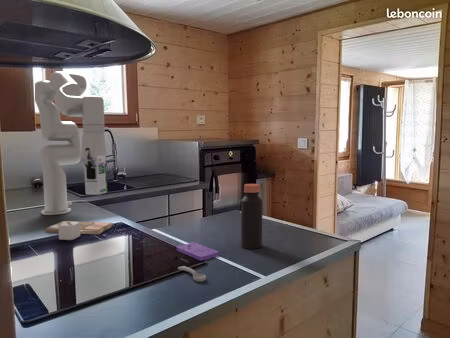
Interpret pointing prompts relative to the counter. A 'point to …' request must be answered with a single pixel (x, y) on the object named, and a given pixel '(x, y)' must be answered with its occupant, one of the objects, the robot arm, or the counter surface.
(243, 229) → the bottle
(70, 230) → the grey cube
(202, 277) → the spoon
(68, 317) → the counter surface
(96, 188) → the syrup box
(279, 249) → the counter surface
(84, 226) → the board
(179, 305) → the counter surface
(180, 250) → the sponges
